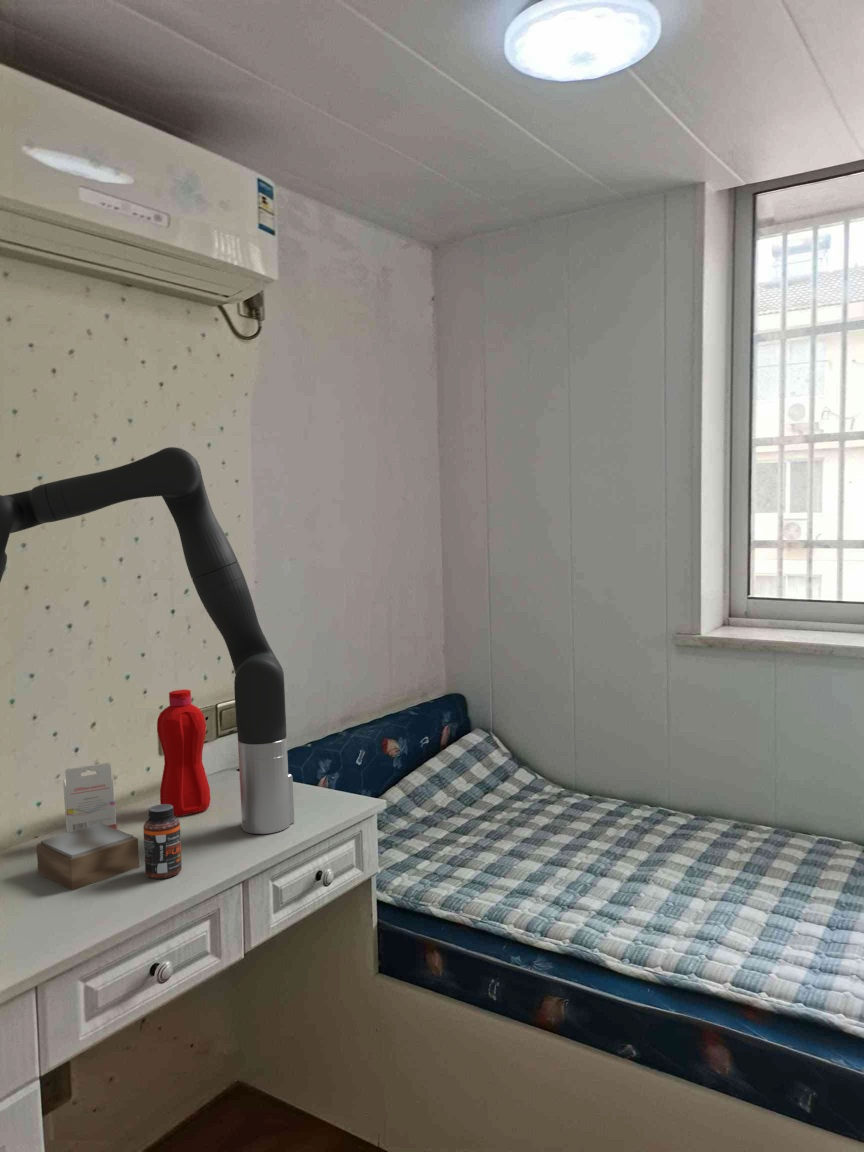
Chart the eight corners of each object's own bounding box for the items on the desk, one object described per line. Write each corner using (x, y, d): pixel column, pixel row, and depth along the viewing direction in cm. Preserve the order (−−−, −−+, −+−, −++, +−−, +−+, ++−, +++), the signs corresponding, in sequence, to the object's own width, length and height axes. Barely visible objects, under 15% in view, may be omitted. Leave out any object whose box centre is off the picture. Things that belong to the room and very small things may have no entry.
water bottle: (199, 797, 190) (193, 683, 189) (214, 811, 181) (208, 690, 179) (155, 806, 185) (149, 688, 184) (169, 820, 176) (162, 696, 174)
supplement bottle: (171, 881, 145) (167, 813, 145) (138, 879, 146) (134, 812, 146) (188, 867, 151) (185, 802, 150) (156, 865, 152) (153, 801, 152)
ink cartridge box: (113, 831, 171) (109, 756, 170) (117, 839, 166) (113, 762, 165) (66, 839, 167) (61, 763, 166) (68, 848, 162) (64, 769, 161)
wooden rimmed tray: (103, 851, 160) (102, 821, 159) (139, 866, 152) (137, 835, 152) (38, 872, 151) (36, 841, 150) (72, 890, 143) (70, 857, 142)
